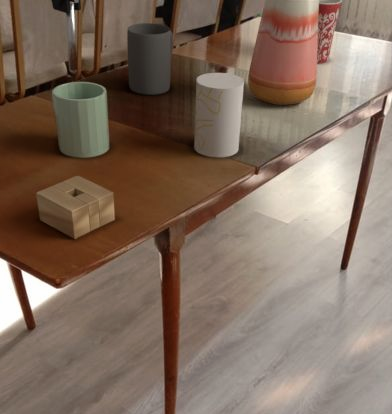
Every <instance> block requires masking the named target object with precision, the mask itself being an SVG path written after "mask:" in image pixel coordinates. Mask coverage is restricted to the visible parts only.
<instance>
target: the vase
mask: <svg viewBox="0 0 392 414" xmlns="http://www.w3.org/2000/svg"><path fill="white" fill-rule="evenodd" d="M318 16H319V0H264V5H263V9H262V13H261V17H260V21H259V26H258V30H257V34H256V37H255V38H256V39H255V43H254V48H253V52H252V55H251V61H250V65H249V70H248V76H247V87H248V90H249V92H250V93H251V94H252V95H253V96H254V97H255V98H257V99H258V100H260V101H263V102H265V103H267V104H272V105H280V106H289V105H296V104H299V103H302V102H304V101H306V100H308V99H309V98H310V97H311V96H312V95H313V94H314V92H315V90H316V85H317V77H318V76H317V73H318V63H317V48H318Z"/></svg>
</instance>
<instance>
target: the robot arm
mask: <svg viewBox="0 0 392 414" xmlns="http://www.w3.org/2000/svg"><path fill="white" fill-rule="evenodd" d="M50 1H51V5H52V8H53V10H55V11H58V12H61V13H64V14H66V13H68V12H70V10H71V8H70V0H50ZM74 9H75V11H80V10H82V3H81V0H79V2H78V3H74Z"/></svg>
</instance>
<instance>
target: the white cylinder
mask: <svg viewBox="0 0 392 414" xmlns="http://www.w3.org/2000/svg"><path fill="white" fill-rule="evenodd" d="M244 84H245V81H244V78H242V77H240V76H238V75H237V74H236V75H235V74H231V73H226V72H208V73H204V74H201V75H199V76H197V78H196V83H195V85H196V86H195V91H196V92H195V111H194V112H195V113H194V114H195V115H194V117H195V118H194V140H193V141H194V142H193V144H194V145H193V149H194V151H195V152H197V153H198V154H199V155H203V156H206V157H209V158H228V157H231V156H234V155H236V154H237V153H238V152H239V146H240V134H241V121H242V109H243V97H244V88H245V87H244V86H245V85H244Z"/></svg>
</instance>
